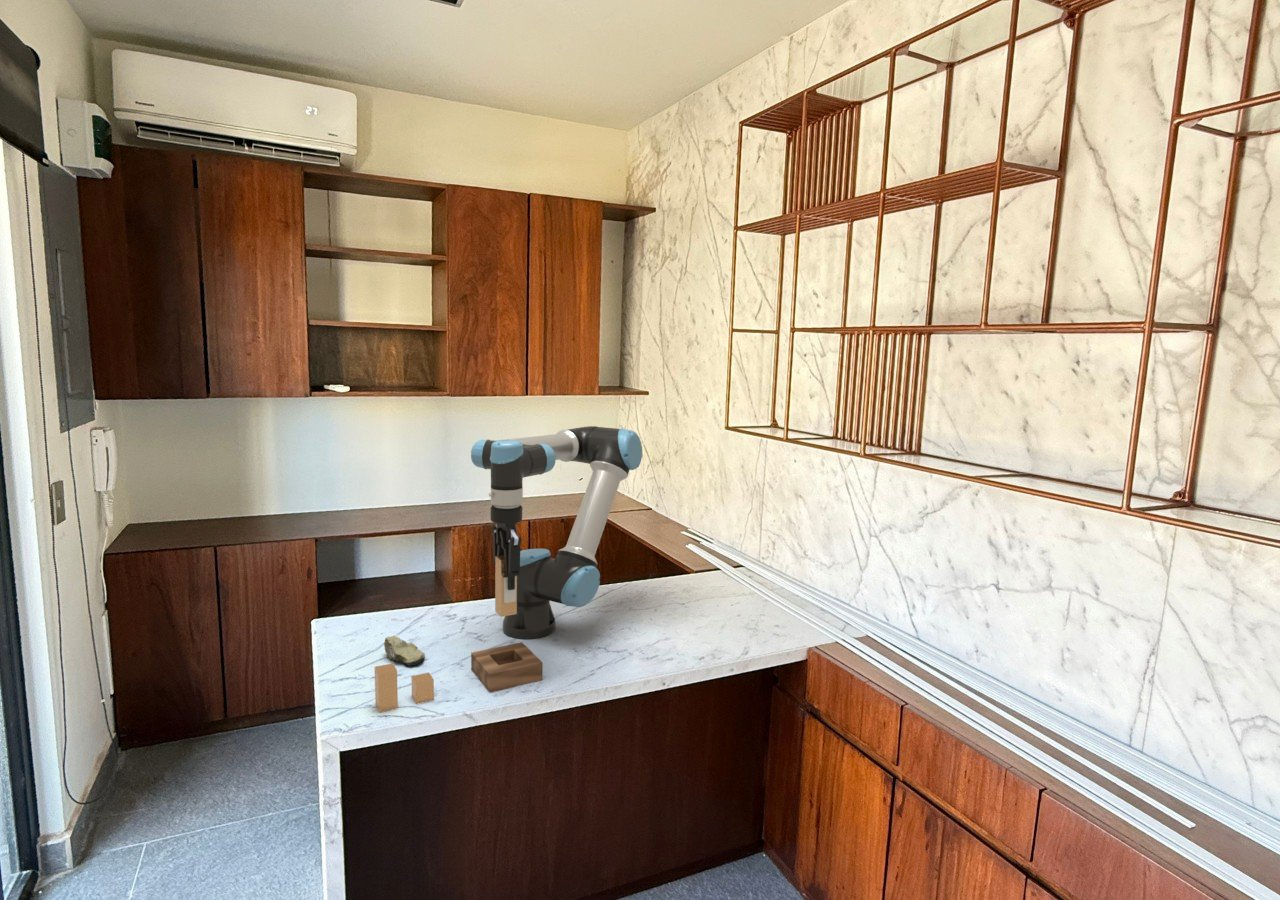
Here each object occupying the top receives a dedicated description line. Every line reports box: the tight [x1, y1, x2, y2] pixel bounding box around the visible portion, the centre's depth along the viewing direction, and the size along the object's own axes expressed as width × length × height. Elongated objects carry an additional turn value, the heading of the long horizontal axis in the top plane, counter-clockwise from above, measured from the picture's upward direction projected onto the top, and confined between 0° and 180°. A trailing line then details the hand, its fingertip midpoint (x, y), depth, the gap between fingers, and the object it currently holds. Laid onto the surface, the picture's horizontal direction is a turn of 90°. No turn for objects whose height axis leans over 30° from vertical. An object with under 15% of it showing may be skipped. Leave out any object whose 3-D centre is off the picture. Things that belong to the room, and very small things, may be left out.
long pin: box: [494, 555, 517, 618], centre depth 169 cm, size 4×4×14 cm
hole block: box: [470, 641, 544, 693], centre depth 172 cm, size 14×14×4 cm
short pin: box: [411, 672, 435, 705], centre depth 159 cm, size 4×4×5 cm
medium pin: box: [374, 663, 399, 713], centre depth 155 cm, size 4×4×9 cm
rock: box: [383, 635, 426, 667], centre depth 178 cm, size 11×6×10 cm
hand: (506, 598), depth 169 cm, fingers closed on long pin, 4 cm apart
